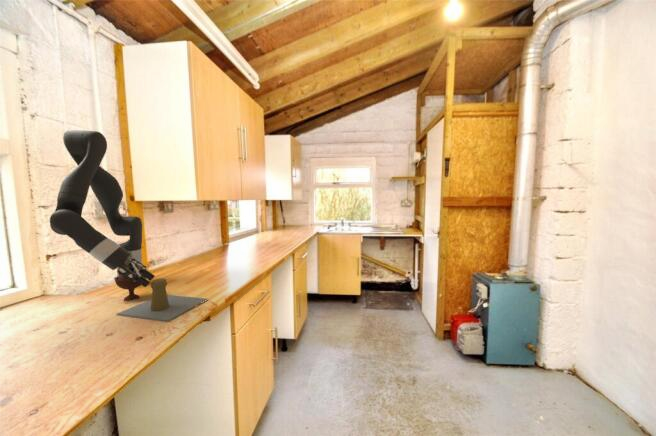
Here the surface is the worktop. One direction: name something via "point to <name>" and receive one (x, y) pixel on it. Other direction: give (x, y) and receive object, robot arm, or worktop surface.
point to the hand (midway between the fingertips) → (150, 281)
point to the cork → (159, 295)
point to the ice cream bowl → (128, 286)
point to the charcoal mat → (176, 308)
